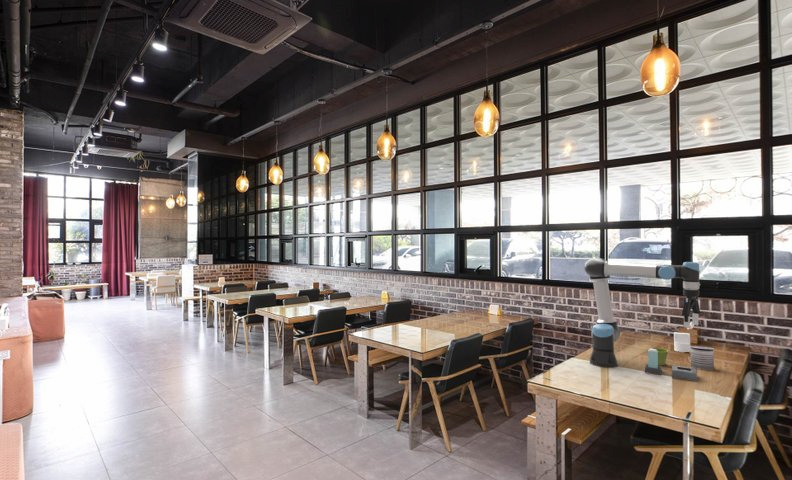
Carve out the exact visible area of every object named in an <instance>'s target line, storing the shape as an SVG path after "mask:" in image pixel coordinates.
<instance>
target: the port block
mask: <svg viewBox="0 0 792 480" xmlns="http://www.w3.org/2000/svg"><path fill="white" fill-rule="evenodd" d="M697 369H698V368H694V367H691V366H689V367H688V366H682V365H672V368H671V376H672V377H671V378H674V379H680V380H687V381H693V382H698V373H697Z"/></svg>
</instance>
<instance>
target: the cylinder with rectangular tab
mask: <svg viewBox="0 0 792 480" xmlns="http://www.w3.org/2000/svg"><path fill="white" fill-rule="evenodd" d="M673 343H674V344H673V345H674V346H673V349H674V351H675V352H678V351H679V352H678V353H684V352H689V353H691V349H690V348H691V347H690V346H691V333H687V332H676V331H675V332H673Z"/></svg>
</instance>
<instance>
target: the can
mask: <svg viewBox="0 0 792 480" xmlns="http://www.w3.org/2000/svg"><path fill="white" fill-rule="evenodd" d="M714 349H715V348H713V347H708V346H701V345H700V346H698V345H690V367H691V368H697V369H698V368H699V369H698V370H704V369H705V371H712V370H714V369H715V355H714V352H715V351H714Z"/></svg>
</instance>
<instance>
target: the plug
mask: <svg viewBox="0 0 792 480" xmlns="http://www.w3.org/2000/svg"><path fill="white" fill-rule="evenodd" d="M647 363H648V367H650V368H657V369H658V366H659V365H658V351H656V349H651V348H649V349H648V350H647Z"/></svg>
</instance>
